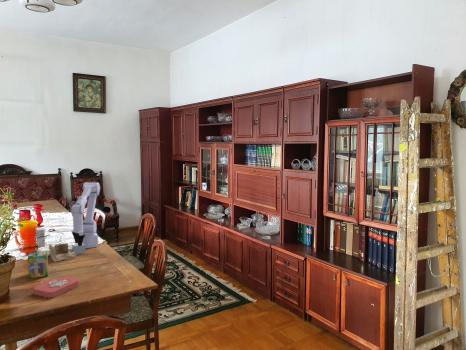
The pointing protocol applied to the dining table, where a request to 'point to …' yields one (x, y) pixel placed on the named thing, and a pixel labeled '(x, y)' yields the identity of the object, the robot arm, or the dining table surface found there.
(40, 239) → the ink box
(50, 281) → the pink flat block
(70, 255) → the birch shelf bay
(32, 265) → the chalk box
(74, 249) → the slate boxed book
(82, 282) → the dining table surface
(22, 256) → the dining table surface
